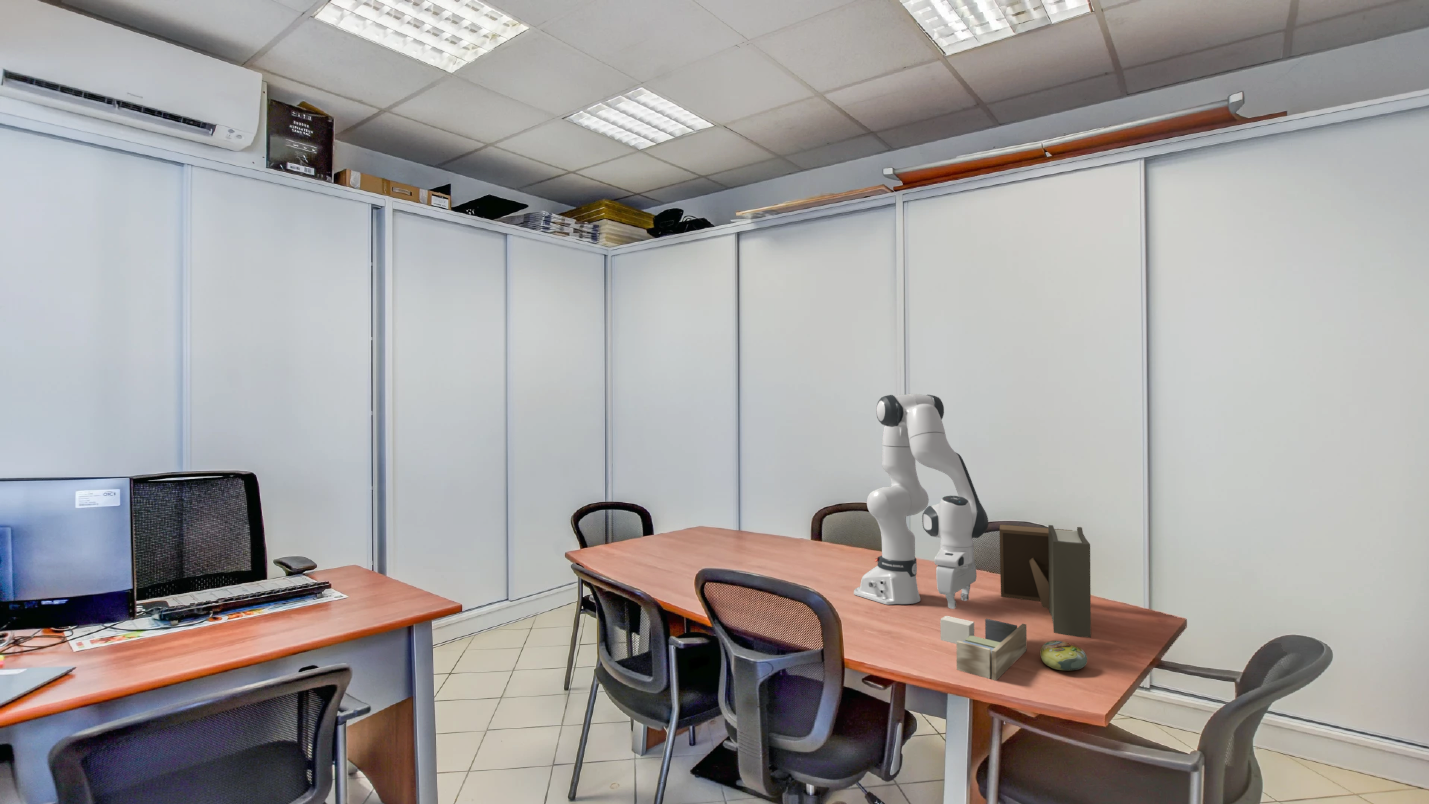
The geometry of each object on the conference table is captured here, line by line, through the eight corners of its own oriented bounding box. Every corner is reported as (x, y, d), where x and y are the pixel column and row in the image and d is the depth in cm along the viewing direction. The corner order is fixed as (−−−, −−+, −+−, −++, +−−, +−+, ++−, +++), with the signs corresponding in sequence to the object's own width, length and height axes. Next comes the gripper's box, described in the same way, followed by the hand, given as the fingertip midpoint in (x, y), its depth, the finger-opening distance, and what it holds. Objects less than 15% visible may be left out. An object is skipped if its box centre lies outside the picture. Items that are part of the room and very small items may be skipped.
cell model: (1033, 660, 156) (1039, 624, 167) (1042, 685, 157) (1048, 647, 169) (1080, 662, 150) (1083, 624, 161) (1089, 688, 151) (1091, 648, 162)
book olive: (965, 662, 161) (965, 639, 161) (971, 658, 164) (970, 635, 164) (997, 671, 156) (997, 647, 156) (1002, 666, 159) (1002, 643, 159)
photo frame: (1001, 593, 219) (1001, 522, 220) (1072, 602, 209) (1071, 527, 210) (998, 604, 206) (998, 528, 207) (1074, 614, 196) (1073, 534, 197)
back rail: (956, 669, 156) (956, 641, 157) (990, 641, 175) (990, 616, 175) (996, 680, 150) (995, 651, 150) (1026, 650, 169) (1026, 624, 169)
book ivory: (940, 640, 176) (940, 619, 176) (946, 636, 179) (945, 615, 179) (969, 647, 171) (968, 625, 171) (974, 643, 174) (974, 621, 174)
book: (1091, 640, 177) (1090, 542, 176) (1053, 635, 181) (1053, 540, 180) (1082, 615, 196) (1081, 527, 196) (1048, 611, 200) (1048, 525, 200)
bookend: (985, 644, 172) (985, 619, 172) (993, 637, 177) (993, 613, 177) (1016, 652, 167) (1016, 626, 167) (1024, 644, 172) (1023, 619, 172)
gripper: (959, 547, 185) (961, 593, 185) (931, 559, 170) (933, 610, 169) (981, 549, 181) (982, 597, 180) (954, 562, 166) (956, 615, 165)
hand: (958, 604), depth 175 cm, fingers open, 8 cm apart
